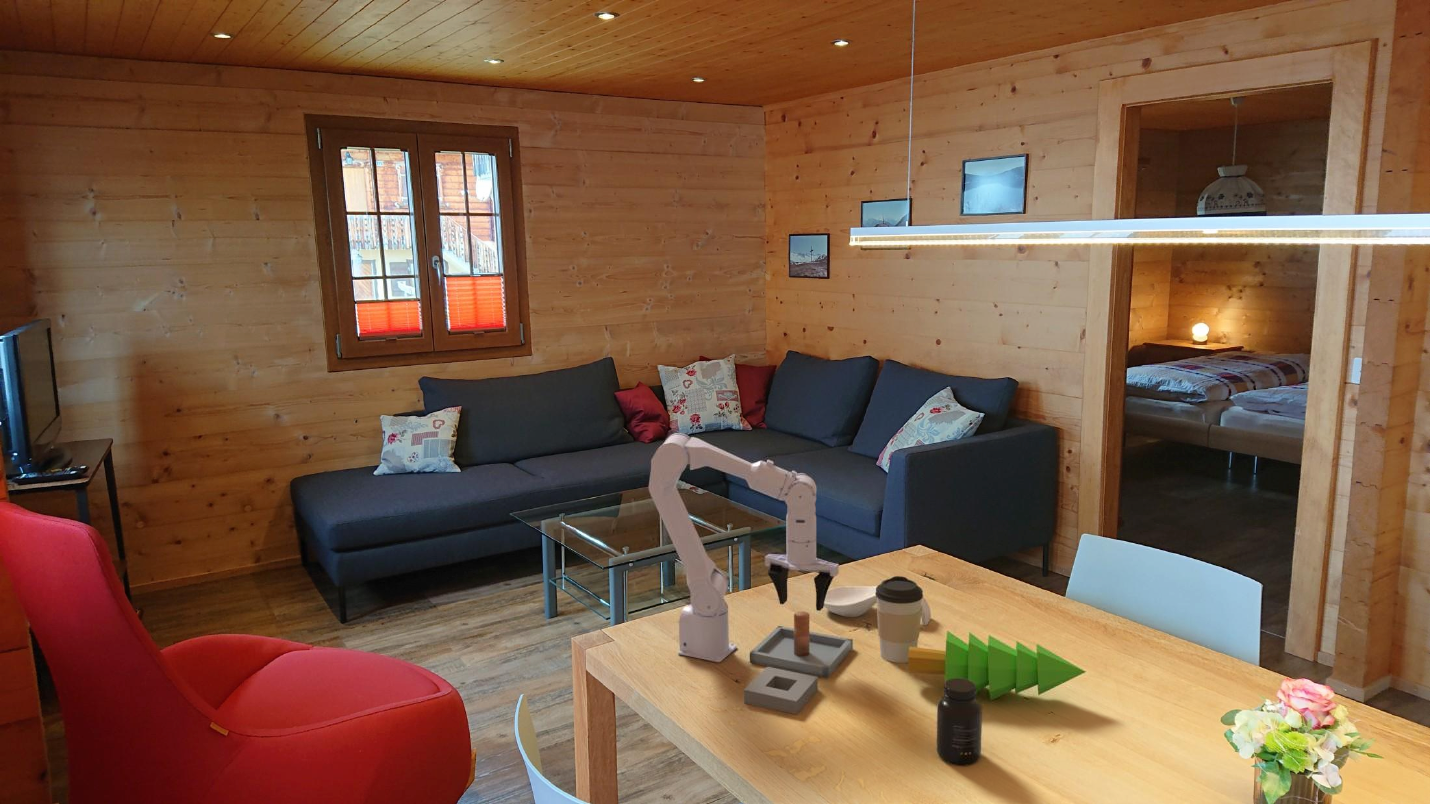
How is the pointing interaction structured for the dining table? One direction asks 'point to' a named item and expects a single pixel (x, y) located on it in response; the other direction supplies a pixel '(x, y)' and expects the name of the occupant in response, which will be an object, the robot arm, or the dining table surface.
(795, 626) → the dowel pin
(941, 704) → the supplement bottle
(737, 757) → the dining table surface
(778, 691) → the socket block
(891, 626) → the coffee cup
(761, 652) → the tray
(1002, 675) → the decorative tree
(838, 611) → the spoon rest
